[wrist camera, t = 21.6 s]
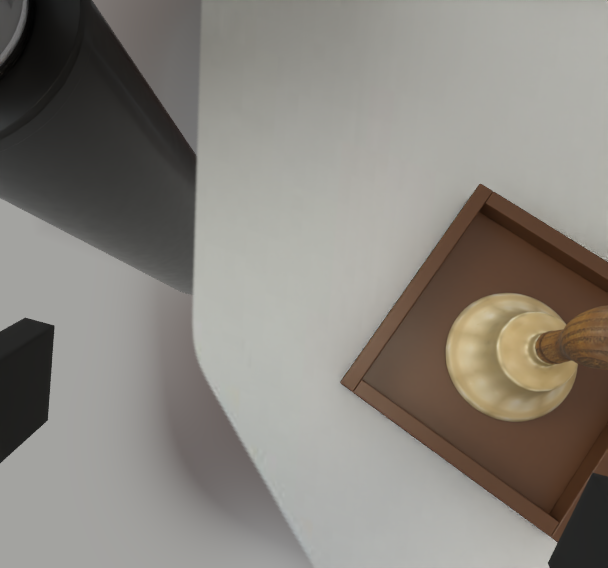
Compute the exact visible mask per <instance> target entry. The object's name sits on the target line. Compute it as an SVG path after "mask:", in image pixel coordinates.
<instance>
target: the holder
mask: <svg viewBox="0 0 608 568" xmlns="http://www.w3.org/2000/svg"><path fill="white" fill-rule="evenodd" d="M499 293H516V294H522V295H526V296H529V297H532V298H534V299H537V300H539V301H541V302H543V303H544V304H546V305H547V306H549V307H550V308H551V309H553V310H554V311H555V312H556V313H557V314H558V315H559V316H560V317H561V318H562V320H563V321H564V322H565V323H566V325H567V324H568V323H569V322H570V320H572V319H573V318H575V317H576V316H578V315H579V314H581V313H583V312H585V311H587V310H590V309H593V308H596V307H600V306H607V305H608V262H607V261H605V260H603V259H602V258H600V257H598V256H597V255H595V254H594V253H592V252H590V251H589V250H587V249H586V248H584V247H582V246H581V245H579V244H578V243H576V242H574V241H573V240H571V239H569V238H568V237H566V236H565V235H563V234H561V233H560V232H558V231H557V230H555V229H553V228H552V227H550V226H548V225H547V224H545V223H544V222H542V221H540V220H539V219H537V218H536V217H534V216H532V215H531V214H529V213H528V212H526V211H524V210H523V209H521V208H519V207H518V206H516V205H515V204H513V203H511V202H510V201H508V200H507V199H505V198H503V197H502V196H500V195H498V194H497V193H495V192H493V191H492V190H490V189H489V188H487V187H485V186H484V185H482V184H479V186H478V187H477V188H476V190H475V191H474V193H473V194H472V195H471V197H470V198H469V200H468V201H467V203H466V204H465V205H464V207H463V208H462V210H461V211H460V213H459V214H458V215H457V217H456V218H455V220H454V221H453V222H452V224H451V225H450V227H449V228H448V230H447V231H446V232H445V234H444V235H443V237H442V238H441V240H440V241H439V242H438V244H437V245H436V247H435V248H434V249H433V251H432V252H431V254H430V255H429V257H428V258H427V259H426V261H425V262H424V264H423V265H422V267H421V268H420V269H419V271H418V272H417V274H416V275H415V277H414V278H413V279H412V281H411V282H410V284H409V285H408V286H407V288H406V289H405V291H404V292H403V294H402V295H401V296H400V298H399V299H398V301H397V302H396V304H395V305H394V306H393V308H392V309H391V311H390V312H389V313H388V315H387V316H386V318H385V319H384V321H383V322H382V323H381V325H380V326H379V328H378V329H377V331H376V332H375V333H374V335H373V336H372V338H371V339H370V340H369V342H368V343H367V345H366V346H365V348H364V349H363V350H362V352H361V353H360V355H359V356H358V358H357V359H356V360H355V362H354V363H353V365H352V366H351V367H350V369H349V370H348V372H347V373H346V375H345V376H344V377H343V379H342V380H341V382H340V383H341V384H342V385H344V386H345V387H346V388H348V389H349V390H350V391H352V392H354V394H356V395H357V396H359V397H360V398H361V399H363V400H364V401H365V402H367V403H368V404H370V405H371V406H372V407H374V408H375V409H376V410H378V411H379V412H380V413H382V414H383V415H385V416H386V417H387V418H389V419H390V420H391V421H393V422H394V423H395V424H397V425H398V426H400V427H401V428H402V429H404V430H405V431H406V432H408V433H409V434H411V435H412V436H413V437H415V438H416V439H417V440H419V441H420V442H421V443H423V444H424V445H426V446H427V447H428V448H430V449H431V450H432V451H434V452H435V453H436V454H438V455H439V456H441V457H442V458H443V459H445V460H446V461H447V462H449V463H450V464H452V465H453V466H454V467H456V468H457V469H458V470H460V471H461V472H462V473H464V474H465V475H467V476H468V477H469V478H471V479H472V480H473V481H475V482H476V483H477V484H479V485H480V486H482V487H483V488H484V489H486V490H487V491H488V492H490V493H491V494H493V495H494V496H495V497H497V498H498V499H499V500H501V501H502V502H503V503H505V504H506V505H508V506H509V507H510V508H512V509H513V510H514V511H516V512H517V513H519V514H520V515H521V516H523V517H524V518H525V519H527V520H528V521H529V522H531V523H532V524H534V525H535V526H536V527H538V528H539V529H540V530H542V531H543V532H544V533H546V534H547V535H549V536H550V537H551V538H553V539H554V540H555V541H557V542H559V539H560V537H561V535H562V533H563V531H564V529H565V527H566V525H567V523H568V521H569V519H570V517H571V515H572V513H573V511H574V509H575V507H576V505H577V503H578V501H579V499H580V497H581V495H582V493H583V491H584V488H585V486H586V484H587V482H588V480H589V478H590V476H591V474H592V472H593V473H596V474H600V475H604V476H607V477H608V369H595V368H589V367H585V366H582V365H580V364H578V367H577V374H576V378H575V382H574V384H573V386H572V389H571V391H570V392H569V394H568V395H567V397H566V398H565V399H564V401H563V402H562V403H561V404H560V405H559V406H558V407H557V408H555V409H554V410H553V411H551V412H550V413H548V414H546V415H544V416H542V417H539V418H537V419H534V420H529V421H523V422H509V421H503V420H498V419H495V418H493V417H490V416H487V415H485V414H483V413H481V412H480V411H478V410H476V409H475V408H473V407H472V406H471V405H470V404H469V403H468V402H467V401H466V400H465V399H464V398H463V397H462V396H461V395H460V394H459V392H458V391H457V389H456V388H455V386H454V384H453V382H452V380H451V378H450V375H449V372H448V369H447V365H446V353H445V352H446V343H447V338H448V334H449V331H450V329H451V327H452V325H453V323H454V321H455V320H456V318H457V317H458V316H459V314H460V313H461V312H462V311H463V310H464V309H465V308H466V307H468V306H469V305H470V304H472V303H473V302H475V301H477V300H479V299H481V298H483V297H486V296H489V295H493V294H499Z"/></svg>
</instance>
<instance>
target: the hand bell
mask: <svg viewBox="0 0 608 568" xmlns="http://www.w3.org/2000/svg"><path fill="white" fill-rule="evenodd" d="M445 353H446V365H447V369H448V372H449V375H450V378H451V380H452V382H453V384H454V386H455V388H456V389H457V391H458V392H459V394H460V395H461V396H462V397H463V398H464V399H465V400H466V401H467V402H468V403H469V404H470V405H471V406H472V407H473V408H475V409H476V410H478V411H480V412H481V413H483V414H485V415H487V416H490V417H493V418H495V419H498V420H503V421H509V422H523V421H529V420H534V419H537V418H539V417H542V416H544V415H546V414H548V413H550V412H551V411H553V410H554V409H555V408H557V407H558V406H559V405H560V404H561V403H562V402H563V401H564V399H565V398H566V397H567V395H568V394H569V392H570V391H571V389H572V386H573V384H574V382H575V378H576V374H577V367H578V364H580V365H582V366H585V367H589V368H595V369H608V305H607V306H600V307H596V308H593V309H590V310H587V311H585V312H583V313H581V314H579V315H578V316H576V317H575V318H573V319H572V320H570V322H569V323H568V324H567V325H566V323H565V322H564V321H563V320H562V318H561V317H560V316H559V315H558V314H557V313H556V312H555V311H554V310H553V309H551V308H550V307H549V306H547V305H546V304H544V303H543V302H541V301H539V300H537V299H534V298H532V297H529V296H526V295H522V294H516V293H499V294H493V295H489V296H486V297H483V298H481V299H479V300H477V301H475V302H473V303H472V304H470V305H469V306H468V307H466V308H465V309H464V310H463V311H462V312H461V313H460V314H459V316H458V317H457V318H456V320H455V321H454V323H453V325H452V327H451V329H450V331H449V334H448V338H447V343H446V352H445Z"/></svg>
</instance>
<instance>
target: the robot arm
mask: <svg viewBox="0 0 608 568" xmlns="http://www.w3.org/2000/svg"><path fill="white" fill-rule="evenodd" d="M35 13H36V12H35V0H0V80H1V79H2V78H3V77H5V76H6V75H7V74H8V73H9V71H10V70H11V69H12V68H13V67H14V66H15V64H16V63H17V62H18V61H19V59H20V57H21V56H22V54H23V53H24V51H25V49H26V47H27V45H28V43H29V40H30V38H31V35H32V31H33V27H34V22H35ZM53 339H54V325H50V324H46V323H43V322H39V321H35V320H32V319H28V318H24V319H22V320H20V321H18V322H17V323H15V324H13V325H12V326H9V327H8V328H6V329H4V330H2V331H1V332H0V463H1V462H2V461H3V460H4V459H5V458H6V457H8V456H9V455H10V454H11V453H12V452H13V451H14V450H15V449H16V448H17V447H18V446H20V445H21V444H22V443H23V442H24V441H25V440H26V439H27V438H29V437H30V436H31V435H32V434H33V433H34V432H35V431H36V430H37V429H39V428H40V427H41V426H42V425H43V424H44V423H45V422H46V421H47V420H48V409H49V394H50V381H51V367H52V353H53V352H52V351H53ZM548 564H549V567H550V568H608V477H607V476H604V475H600V474H596V473H593V472H592V474H591V476H590V478H589V480H588V482H587V484H586V486H585V488H584V491H583V493H582V495H581V497H580V499H579V501H578V503H577V505H576V507H575V509H574V511H573V513H572V515H571V517H570V519H569V521H568V523H567V525H566V527H565V529H564V531H563V533H562V535H561V537H560V539H559V542H558V544H557V546H556V548H555V550H554V552H553V554H552V556H551V558H550V560H549V562H548Z"/></svg>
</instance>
